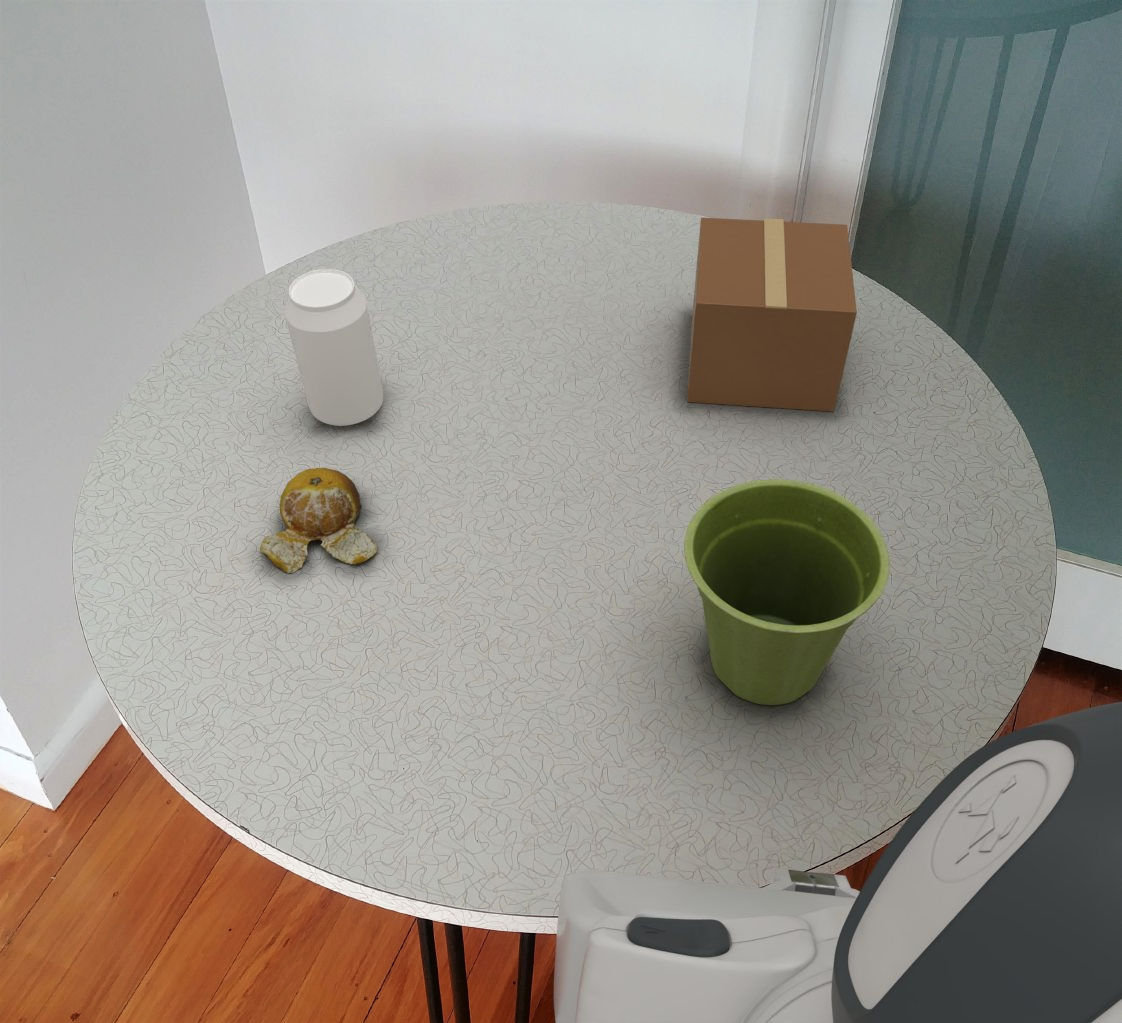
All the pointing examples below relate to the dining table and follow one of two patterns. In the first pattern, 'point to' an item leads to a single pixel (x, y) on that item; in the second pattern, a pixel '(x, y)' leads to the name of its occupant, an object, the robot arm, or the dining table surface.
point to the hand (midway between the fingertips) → (807, 888)
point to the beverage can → (334, 347)
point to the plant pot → (781, 582)
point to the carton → (771, 314)
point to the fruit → (318, 520)
